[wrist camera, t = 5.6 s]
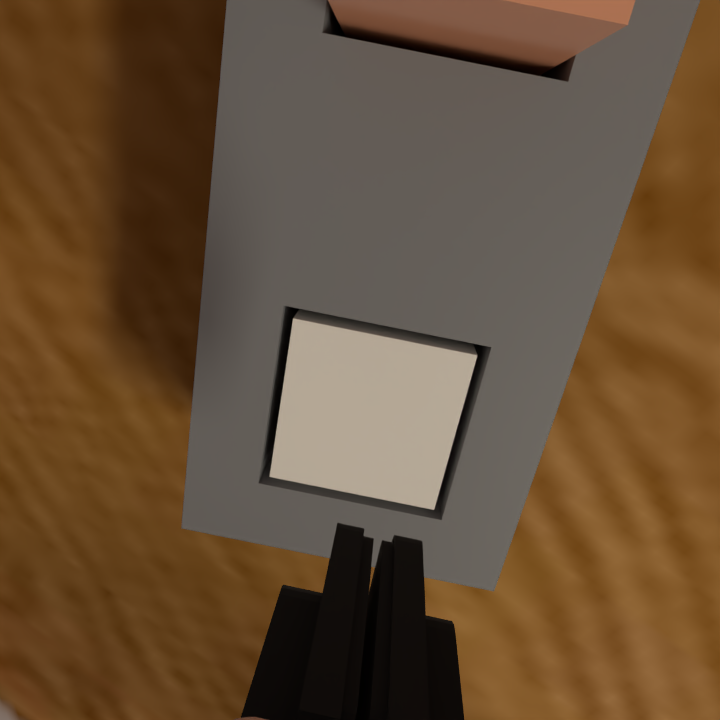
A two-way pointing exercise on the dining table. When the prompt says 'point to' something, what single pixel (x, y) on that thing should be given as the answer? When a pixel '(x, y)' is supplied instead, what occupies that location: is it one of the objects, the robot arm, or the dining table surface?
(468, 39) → the terracotta plunger
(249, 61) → the button box
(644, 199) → the dining table surface
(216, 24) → the dining table surface
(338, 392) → the beige plunger
